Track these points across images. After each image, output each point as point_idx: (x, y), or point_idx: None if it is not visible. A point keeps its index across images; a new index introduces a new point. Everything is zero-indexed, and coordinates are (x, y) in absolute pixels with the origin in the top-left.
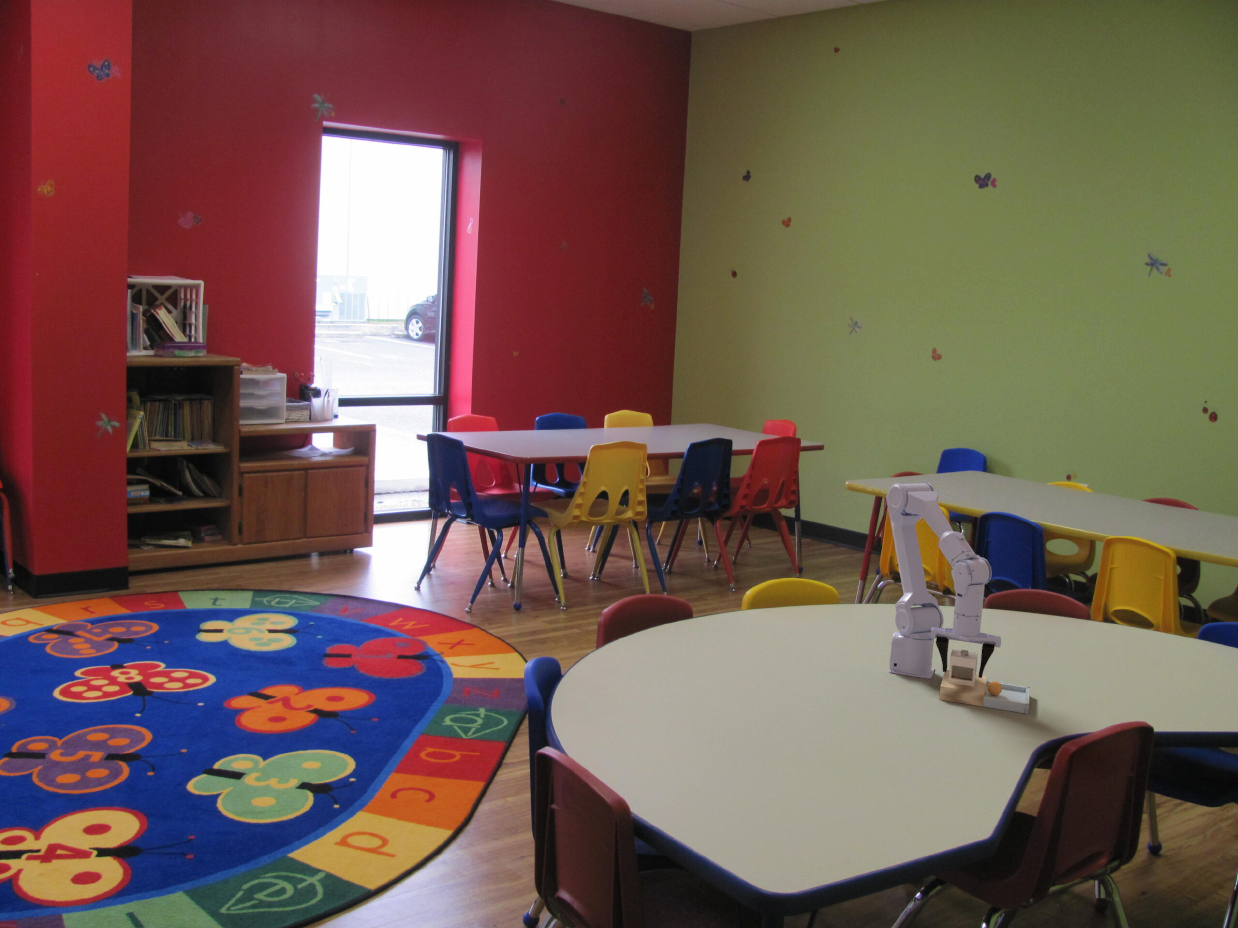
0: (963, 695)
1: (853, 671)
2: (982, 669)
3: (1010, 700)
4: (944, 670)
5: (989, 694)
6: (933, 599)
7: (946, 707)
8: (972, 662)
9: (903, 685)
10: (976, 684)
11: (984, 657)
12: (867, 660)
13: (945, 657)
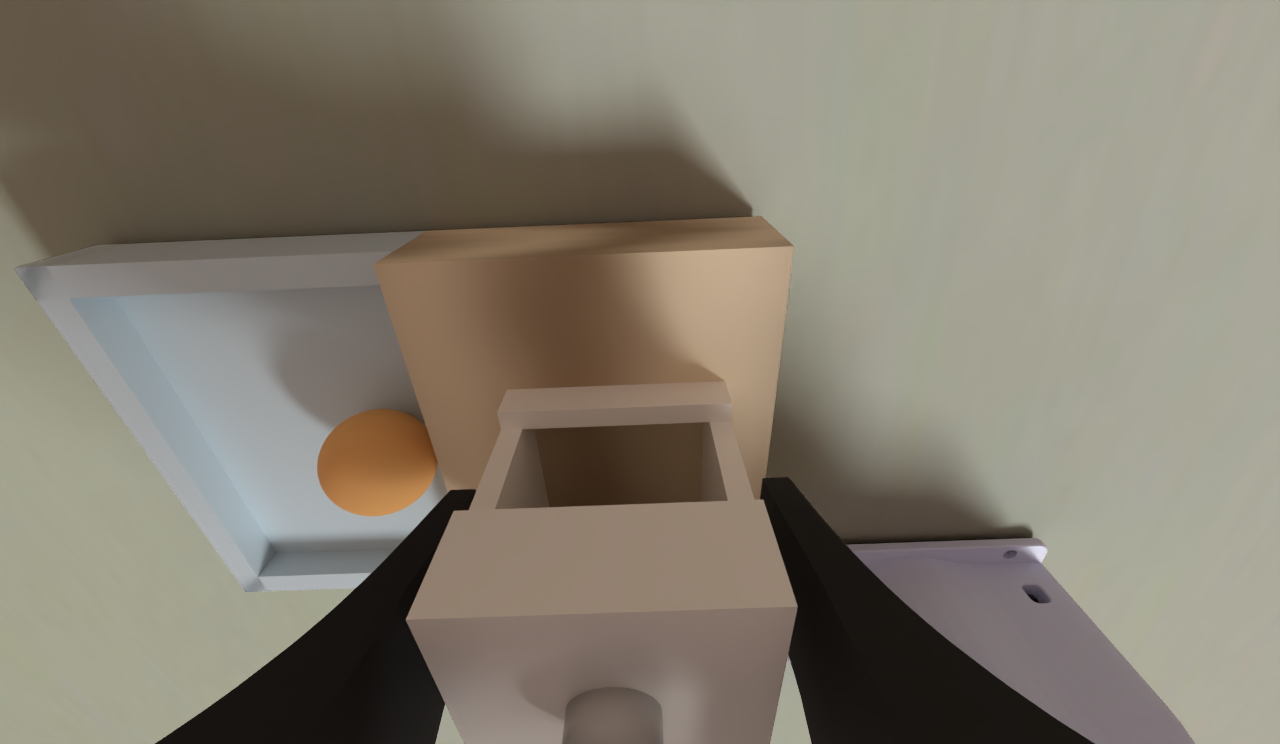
0: (572, 238)
1: (1269, 477)
2: (405, 545)
3: (268, 379)
4: (783, 484)
5: None
6: None
7: (693, 48)
8: (477, 570)
9: (991, 392)
10: None
11: (290, 690)
12: (1106, 634)
13: (837, 595)
